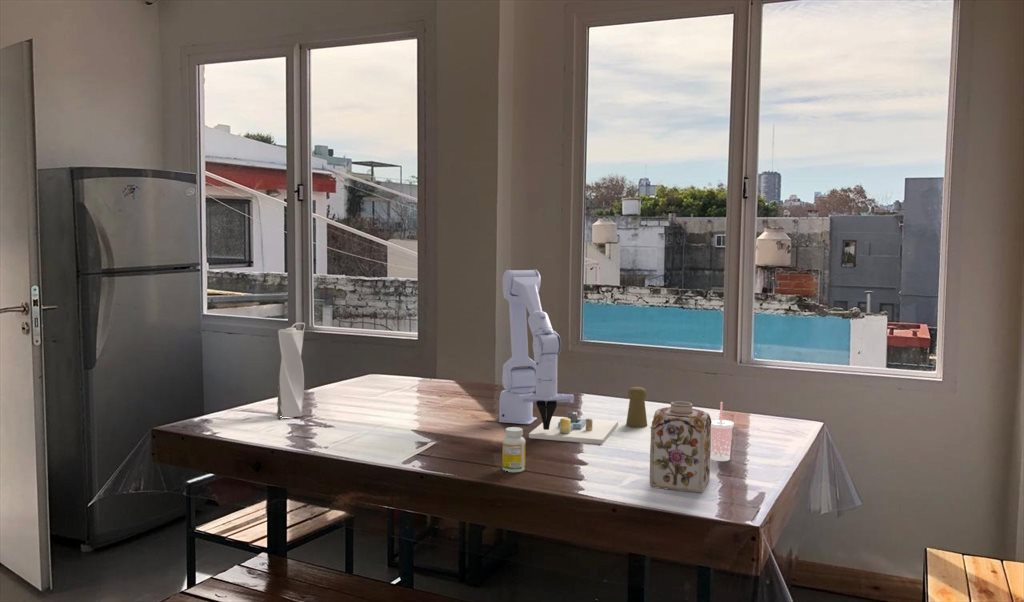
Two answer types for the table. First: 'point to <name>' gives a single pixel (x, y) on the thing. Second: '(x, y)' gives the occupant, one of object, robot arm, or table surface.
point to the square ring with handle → (570, 424)
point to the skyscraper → (291, 372)
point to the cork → (637, 408)
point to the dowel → (589, 424)
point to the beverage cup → (721, 438)
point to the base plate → (576, 432)
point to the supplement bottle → (513, 450)
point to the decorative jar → (680, 448)
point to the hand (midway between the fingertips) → (546, 428)
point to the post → (572, 416)
